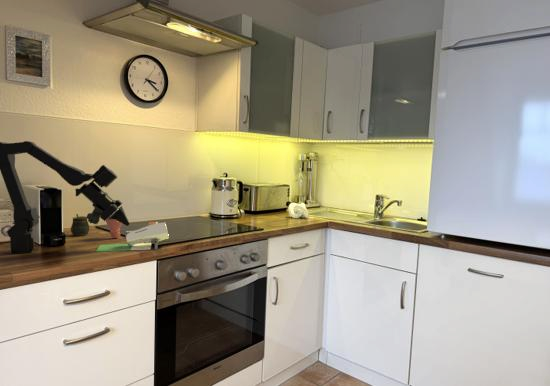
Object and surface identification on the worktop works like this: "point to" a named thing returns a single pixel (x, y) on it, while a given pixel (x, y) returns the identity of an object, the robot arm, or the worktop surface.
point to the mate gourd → (80, 226)
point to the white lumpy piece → (297, 210)
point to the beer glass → (147, 234)
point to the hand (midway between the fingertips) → (128, 225)
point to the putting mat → (125, 246)
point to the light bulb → (114, 227)
